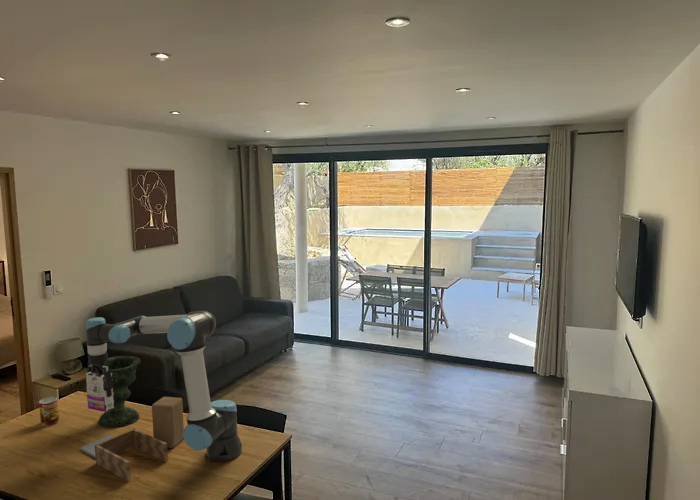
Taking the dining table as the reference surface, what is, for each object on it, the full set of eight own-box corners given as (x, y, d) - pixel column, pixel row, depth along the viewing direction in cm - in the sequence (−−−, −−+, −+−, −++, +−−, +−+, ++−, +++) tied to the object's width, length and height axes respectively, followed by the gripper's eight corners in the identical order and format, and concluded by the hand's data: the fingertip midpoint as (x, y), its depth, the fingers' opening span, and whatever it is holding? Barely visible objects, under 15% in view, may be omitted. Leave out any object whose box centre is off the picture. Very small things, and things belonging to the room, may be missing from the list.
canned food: (45, 428, 237) (43, 404, 236) (37, 424, 241) (35, 401, 240) (62, 421, 244) (60, 398, 242) (54, 418, 248) (52, 395, 247)
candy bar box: (115, 407, 216) (112, 372, 215) (105, 412, 212) (103, 376, 210) (97, 404, 221) (94, 369, 219) (87, 408, 216) (84, 373, 214)
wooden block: (173, 449, 216) (170, 406, 214) (153, 447, 218) (150, 404, 216) (185, 438, 226) (183, 397, 224) (165, 436, 228) (163, 395, 226)
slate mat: (127, 445, 220) (127, 443, 220) (96, 459, 209) (96, 456, 209) (110, 436, 228) (110, 434, 228) (80, 449, 217) (80, 447, 216)
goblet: (121, 433, 232) (117, 372, 228) (83, 427, 238) (79, 368, 234) (152, 413, 253) (149, 357, 249) (116, 408, 259) (113, 353, 255)
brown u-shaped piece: (167, 461, 207) (167, 443, 206) (128, 481, 192) (127, 462, 191) (135, 445, 220) (134, 428, 219) (96, 463, 205) (94, 445, 205)
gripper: (121, 355, 210) (124, 403, 212) (91, 346, 223) (94, 391, 226) (104, 360, 204) (107, 409, 206) (75, 350, 217) (78, 397, 219)
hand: (100, 400), depth 216 cm, fingers closed on candy bar box, 12 cm apart
